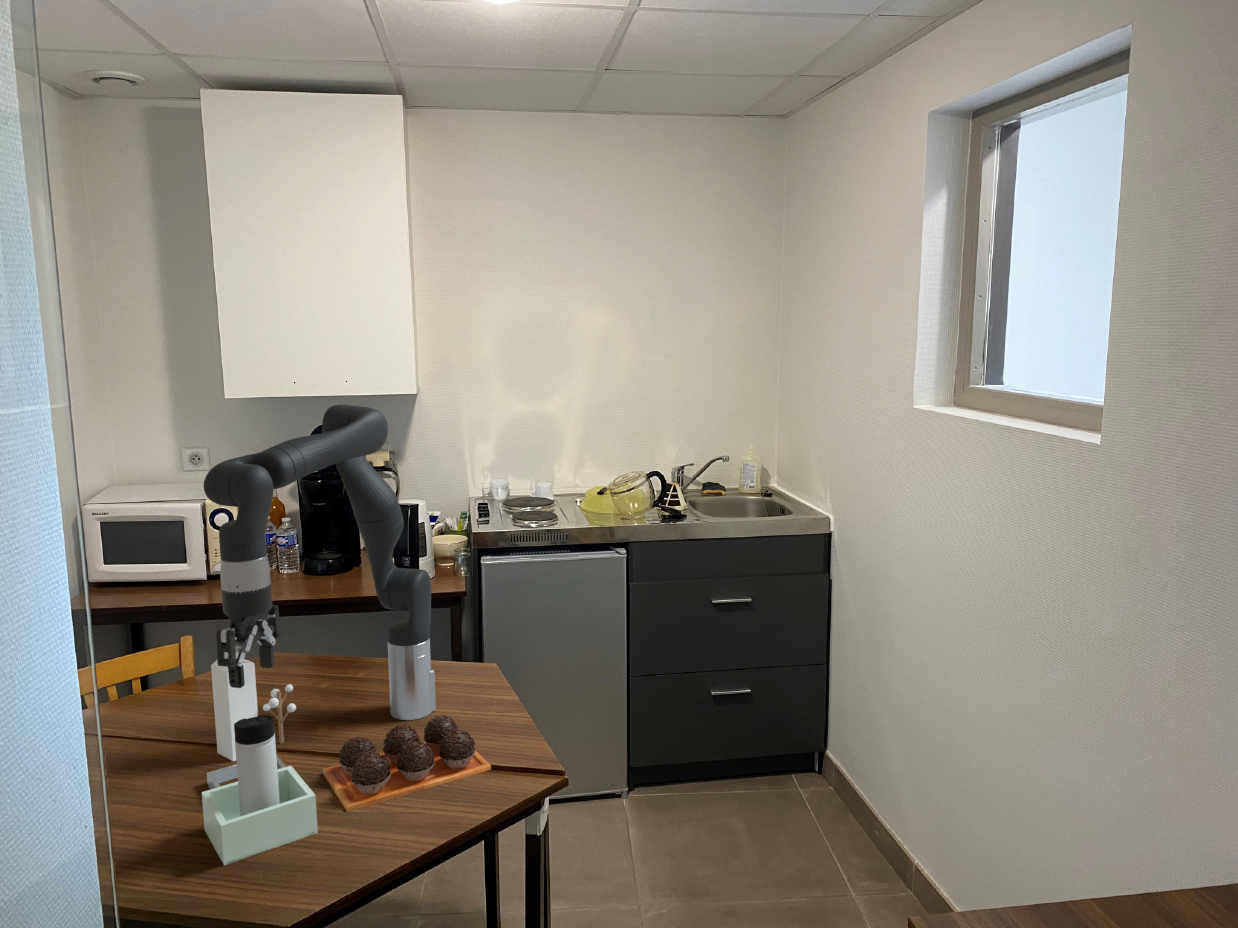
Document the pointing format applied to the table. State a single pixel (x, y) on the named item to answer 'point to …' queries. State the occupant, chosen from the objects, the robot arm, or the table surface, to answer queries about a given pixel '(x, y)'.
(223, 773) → the collar
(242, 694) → the milk
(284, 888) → the table surface
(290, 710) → the cotton branch
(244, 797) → the travel mug
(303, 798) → the bin
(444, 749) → the chocolate truffle
